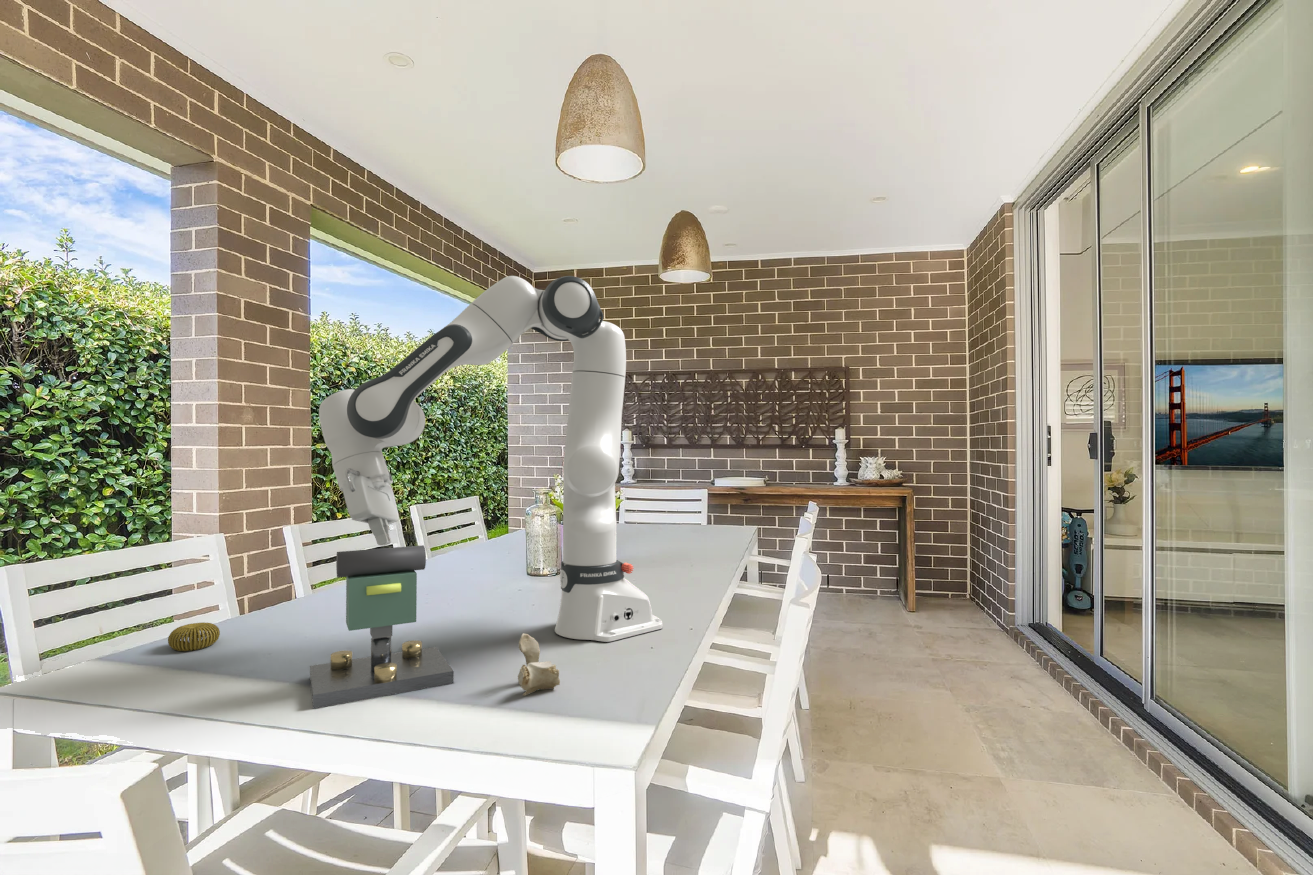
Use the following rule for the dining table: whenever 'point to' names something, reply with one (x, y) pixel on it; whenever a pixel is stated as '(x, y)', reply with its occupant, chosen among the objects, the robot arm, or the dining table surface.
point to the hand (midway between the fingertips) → (385, 544)
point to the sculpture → (193, 636)
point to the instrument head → (380, 587)
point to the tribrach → (378, 673)
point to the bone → (535, 668)
